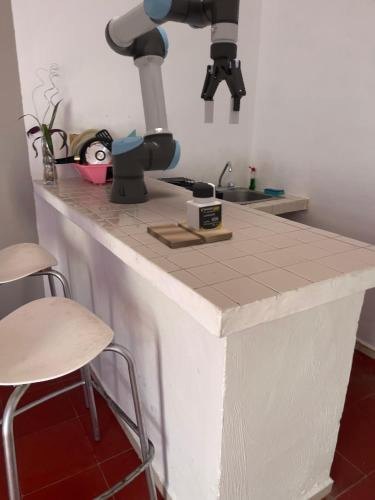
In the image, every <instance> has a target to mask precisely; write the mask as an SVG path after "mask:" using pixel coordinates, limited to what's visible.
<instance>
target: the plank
mask: <svg viewBox="0 0 375 500" xmlns="http://www.w3.org/2000/svg"><path fill="white" fill-rule="evenodd" d="M177 226H178V227H180V228H182V229H184V230H186V231H188V232H190V233H192V234H193V235H195V236H197V237H199V238H201V240H202V241H204V242H205V244H209V243H212V242H213V243H214V242H218V241H224V240H227V239H232V238H233V231H230V230H229V229H227V228H223V227H221V228H218V229H213V230H208V231H203V232H199V231H197V230H195V229H193V228H191V227H189V226H187V220H186V221H180V222H177Z"/></svg>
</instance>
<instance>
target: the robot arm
mask: <svg viewBox="0 0 375 500" xmlns="http://www.w3.org/2000/svg"><path fill="white" fill-rule="evenodd" d="M240 1H241V0H143V1H142V2H140V3H139V4H137V5H136V6H134V7H133V8H131V9H130V10H128V11H127V12H125V13H124V14H122V15H115V16H114V17H112V18H111V19H110V20H109V21H108V22H107V24H106V25H105V30H104V36H105V42H106V43H107V44H108V46H109V48H110V49H111V50H112V51H113V52H115V53H116V54H118V55H120V56H123V57H130V58H132V60H133V65H134V66H135V67H137V69H138V75H139V84H140V91H141V99H142V108H143V117H144V122H145V124H144V125H145V131H146V132H145V133H144V135H143V136H126V137H121V138H116V139H114V140H113V141H112V142H111V153H110V154H111V160H112V161H111V162H112V163H111V165H112V184H111V188H110V190H109V195H108V196H109V201H110V202H111V203H112V202H113V203H117V204H140V203H144V202H149V200H150V196H149V195H150V194H149V190H148V188H147V184H146V182H145V172H153V171H154V172H155V171H156V172H157V171H164V172H165V171H169V170H174V169H175V168H176V167H177V166H178V164H179V161H180V159H181V145H180V143H179V141H178V140H177V139H174V135H173V133H172V132H171V131H170V130H169V125H168V117H167V108H166V99H165V92H164V91H165V90H164V82H163V75H162V65H163V63H165V59H166V57H167V56H168V53H169V51H168V49H169V38H168V34H167V32H166V31H165V29H164V28H163V27H162V26H161V25H163V24H166V23H168V22H175V23H181V24H186V25H188V26H189V27H190V28H192V29H194V30H199V29H204V28H207V27H210V26H211V27H210V42H211V45H210V46H209V47H210V48H209V51H210V52H209V58H210V60H213V64H208V65H207V66H206V74H205V77H204V82H203V85H202V89H201V93H200V99H201V100H203V101H204V121H203V122H204V124H214V105H215V103H214V102H215V99H214V97H215V94H216V92H217V90H218V87H219V85H220V83H221V82H222V81H225V83H226V86H227V88H228V90H229V93H230V99H229V115H228V116H229V118H228V119H229V120H228V121H229V122H228V124H229V125H239V123H240V122H239V120H240V118H239V117H240V110H241V99H242V98H243V97H245V96H247V90H246V87H245V82H244V77H243V72H242V69H241V68H242V64H241V63H242V62H241V61H242V60H240V59H237V56H238V45H237V43H238V41H239V18H240V17H239V16H240V15H239V14H240Z"/></svg>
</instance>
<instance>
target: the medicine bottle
mask: <svg viewBox="0 0 375 500" xmlns="http://www.w3.org/2000/svg"><path fill="white" fill-rule="evenodd" d="M191 192H192V199H191V200H187V201H186V221H187V226H189V227H191V228H193V229H195V230H197V231H199V232H203V231H208V230H213V229H218V228H221V227H222V225H223V224H222V222H223V221H222V220H223V217H222V215H223V210H222V209H223V206H222V205H223V204H222V202H221V201H218V200H215V199H216V185H215V184H213V183H211V182H198V183H195V184H193V185H192V191H191ZM222 228H223V227H222Z"/></svg>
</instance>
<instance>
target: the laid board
mask: <svg viewBox="0 0 375 500" xmlns="http://www.w3.org/2000/svg"><path fill="white" fill-rule="evenodd" d="M146 232H147V233H148V234H149V235H151V236H152V237H154V238H155V239H157V240H158V241H160V242H162V243H163V244H164V245H166V246H168V247H170V248H171V249H172V250H173V249H180V248H186V247H193V246H198V245H199V246H200V245H204V244H206V243H205V242H204V241H202V240H201V238H199V237H197V236H195V235H193V234H192V233H190V232H188V231H186V230H184V229H182V228H180V227H178V224H175V223H167V224H158V225H151V226H146Z"/></svg>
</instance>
